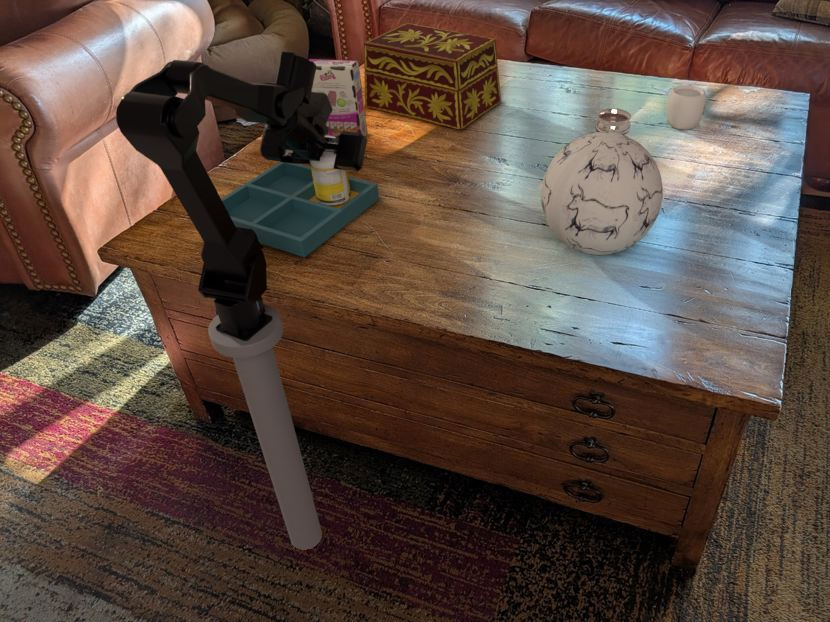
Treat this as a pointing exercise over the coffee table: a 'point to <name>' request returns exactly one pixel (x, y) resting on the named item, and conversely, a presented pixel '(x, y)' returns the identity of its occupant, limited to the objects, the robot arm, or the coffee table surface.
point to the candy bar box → (341, 95)
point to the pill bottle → (330, 180)
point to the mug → (685, 106)
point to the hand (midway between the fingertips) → (332, 163)
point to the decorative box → (432, 75)
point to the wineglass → (613, 121)
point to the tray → (294, 208)
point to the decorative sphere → (602, 193)
